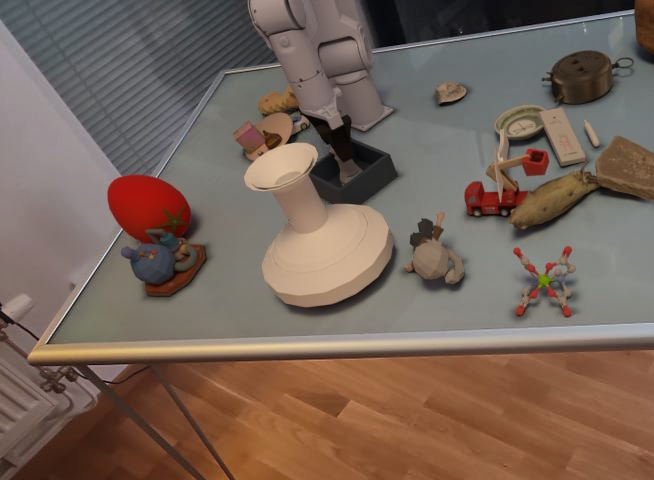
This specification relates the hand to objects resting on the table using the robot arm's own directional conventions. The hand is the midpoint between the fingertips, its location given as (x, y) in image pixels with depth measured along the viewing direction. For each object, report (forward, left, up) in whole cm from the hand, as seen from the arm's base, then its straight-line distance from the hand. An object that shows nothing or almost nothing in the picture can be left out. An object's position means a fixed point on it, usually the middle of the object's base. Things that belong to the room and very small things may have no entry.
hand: (339, 150), depth 104 cm
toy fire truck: (+30, +8, -7) cm, 32 cm away
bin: (0, 0, -7) cm, 7 cm away
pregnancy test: (+27, +25, -6) cm, 38 cm away
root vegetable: (+39, +12, -2) cm, 41 cm away
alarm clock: (+15, +36, -4) cm, 39 cm away
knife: (+26, +11, -1) cm, 29 cm away
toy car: (-29, +3, -7) cm, 30 cm away
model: (-11, -32, -7) cm, 35 cm away
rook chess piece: (0, 0, -7) cm, 7 cm away
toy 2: (+29, -7, -7) cm, 30 cm away
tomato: (-29, -29, 0) cm, 40 cm away
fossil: (-7, +27, -5) cm, 28 cm away
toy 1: (-38, +4, -5) cm, 39 cm away
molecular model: (+52, -1, -5) cm, 52 cm away
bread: (+35, +57, +5) cm, 67 cm away
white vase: (+16, -16, -7) cm, 24 cm away
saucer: (+18, +25, -7) cm, 32 cm away
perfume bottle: (-28, 0, -5) cm, 29 cm away
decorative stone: (+52, +24, -3) cm, 58 cm away
